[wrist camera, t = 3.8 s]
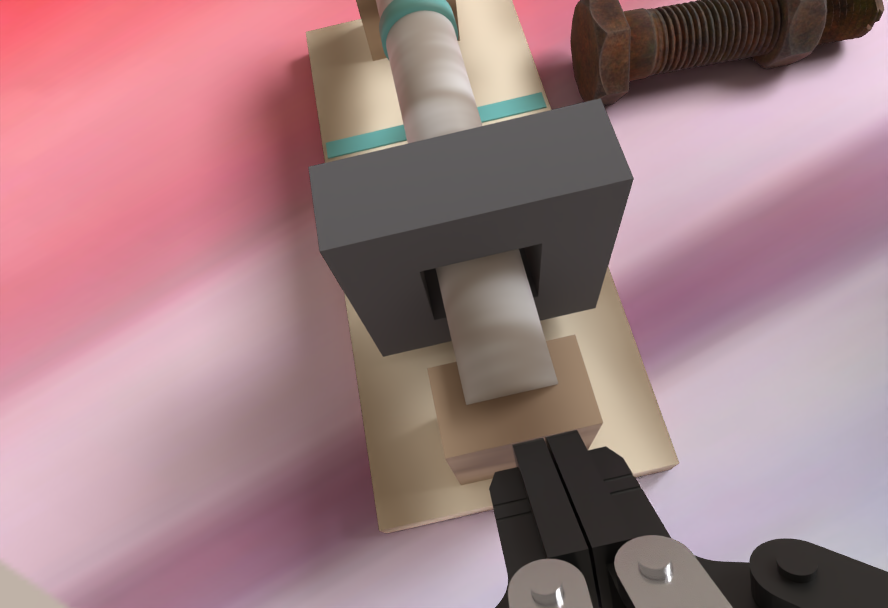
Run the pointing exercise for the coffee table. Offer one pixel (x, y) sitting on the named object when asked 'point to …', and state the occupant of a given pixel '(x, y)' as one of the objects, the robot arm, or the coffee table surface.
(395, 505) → the pipe stand
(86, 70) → the coffee table surface
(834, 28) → the bolt
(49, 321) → the coffee table surface
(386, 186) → the dark grey slider block
